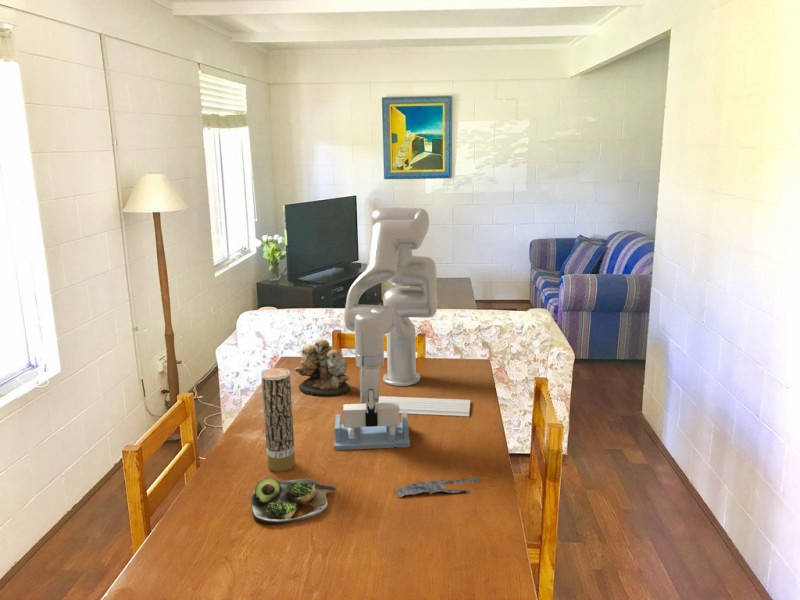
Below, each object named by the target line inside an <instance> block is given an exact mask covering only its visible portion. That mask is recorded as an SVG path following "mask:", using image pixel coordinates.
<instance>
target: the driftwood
mask: <svg viewBox="0 0 800 600" xmlns="http://www.w3.org/2000/svg"><path fill="white" fill-rule="evenodd" d="M414 483H415V484H414ZM414 483H410V484H411V485H410V484H408V485H407V486H403V487H400V488H394V491H395V493H396V495H397V497H399V498H403V496H408V495H417V494H421V493H427V494H428V496H429V495H432V494H433V493H437V492H446V493H450V494H451V493H453V494H454V493H460V492H465V493H467V494H470V493H471V491H470V490H466V489H457V488H454V489H453V488H452V489H448V488H446V487H444V485H451V484H454V483H456V484H459V485H465V484H471V485H473V484H475V483H480V478H479V475H476V476H475V477H474V478H469V479H468V478H462V479H455V480H453V479H440V480H439V479H438V480H429V481H417V482H414ZM473 491H478V489H476V488H474V490H473Z"/></svg>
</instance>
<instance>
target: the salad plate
mask: <svg viewBox="0 0 800 600" xmlns="http://www.w3.org/2000/svg"><path fill="white" fill-rule="evenodd" d="M254 488H255V489H254V490H253V492H252V494H251V497H250V500H251V501H250V502H251V503H250V504H251V509H252V511H251V513H252V514H251V515H252V516H253V519H254V520H255V521H257V522H259V523H261V524H263V525H269V526H276V525H277V526H279V525H281V526H282V525H284V524H285V525H286V524H289V523H296V522H299V521H303V520H306V519H309V518H314V517H315V516H318V515H319V514H321V513H322V512H323V511H325V510H326V509H327V508H328V506H329V504H328V499H327V496H326V495H327V494H328V493H329V492H333V491H336V490H337V486H336V485H329V484H328V485H327V484H321V483H320V482H318V481H316V480H315V479H311V478H303V477H302V478H298V479H296V478H295V479H291V480H283V481H282V480H277V479H275V478H273V477H266V478H263V479H261V480H260V481H259V482H257V484H256V485H255V487H254ZM309 505H310V506H312V507H313V509H312V510H311V511H310V512H308V513H306V514H304V515H302V516H301V515H300V516H298V517H295V518H292V517H293V516H294V515H295V513H296V511H297V510H298V509H300V508H301V507H307V506H309Z"/></svg>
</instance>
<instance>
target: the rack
mask: <svg viewBox="0 0 800 600" xmlns="http://www.w3.org/2000/svg"><path fill="white" fill-rule="evenodd" d="M399 423H400V425H398V426H373V427H347V428H344V423H343V424H341V414H338V413H337V414H335V423H334V444H333V445H334V451H348V450H349V449H350V450H369V449H391V448H392V449H394V447H397V448H410V447H411V439H410V435H409V434H410V430H409V426H410V425H409V420H408V414H407V413H406V412H402V414H401V421H399Z"/></svg>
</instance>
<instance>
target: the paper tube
mask: <svg viewBox="0 0 800 600" xmlns="http://www.w3.org/2000/svg"><path fill="white" fill-rule="evenodd" d="M260 376H261V378H260V379H261V390H262V392H261V393H262V401H263V402H262V403H263V416H264V419H263V420H264V432H265V445H266V458H267V459H266V461H267V466H268V467H267V468H268V469H269V471H272V472H275V473H282V472H283V473H284V472H288V471H290V470H292V469H293V468H294V466H295V465H296V458H295V457H296V456H295V439H294V438H295V437H294V422H293V421H294V420H293V405H292V403H293V401H292V387H291V385H292V384H291V373H290V370H289V369H287V368H282V367H275V368H274V367H273V368H268V369H266V370H264V371H262V372H261V375H260Z"/></svg>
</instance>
